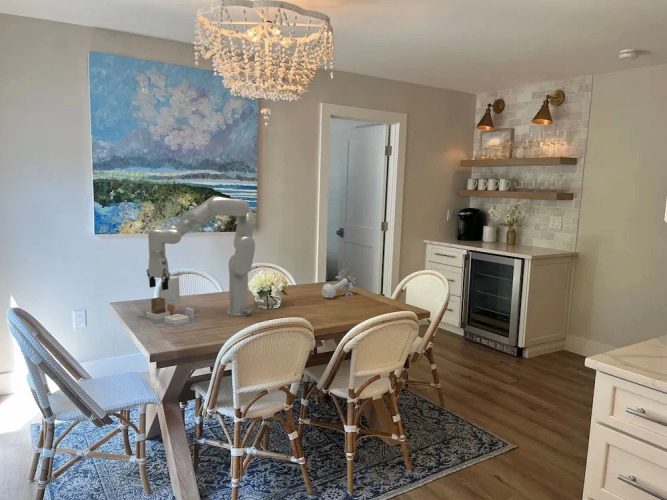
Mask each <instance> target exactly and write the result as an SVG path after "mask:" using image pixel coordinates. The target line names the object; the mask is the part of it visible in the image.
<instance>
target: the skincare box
mask: <svg viewBox="0 0 667 500" xmlns="http://www.w3.org/2000/svg"><path fill="white" fill-rule="evenodd" d="M164 279H165V278H164ZM160 280H161V281H160V283H161V284H162V282H163V281H162V279H161V278H160ZM180 293H181V292H180V277H179V275H170V279H169V281H168V289H167V290H162V289H161V298H164V299H165V305H167V304H168V303H171V304H175V305H178V304H179V303H180V302H181V298H180V297H181V296H180Z"/></svg>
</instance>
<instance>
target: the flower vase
mask: <svg viewBox="0 0 667 500" xmlns="http://www.w3.org/2000/svg"><path fill="white" fill-rule="evenodd" d="M351 270H352V269H349V268H348V267H345V268H344V269H339V272H338V275H336V276H335V277H334V278H335V279H336V280H337V281H336V282H337V283H335V284H331V283H325V284H324V285H323V286H322V289H321V295H322V297H324V298H326V299H327V298H328V299H333V298H334V297H335V296H336V292H337V290H338V289H339V290H343V289H344V292H342V293H341V295H345V296H349V295H351V296H354V294H353V292H350V291H349V290H350V289H353V285H355V284H356V281H355V280H356V279H357V278H356V276H354V275H355V274H354V271H352V272H351V273H350V272H349V271H351ZM348 272H349V273H350V274H349V273H348Z"/></svg>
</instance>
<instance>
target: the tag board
mask: <svg viewBox="0 0 667 500" xmlns="http://www.w3.org/2000/svg"><path fill="white" fill-rule="evenodd" d="M138 318H140V319H143V320H147V321H150V322H152V323H153V322H154V323H156V324H161V325H165V326H168V327H171V328H174V329H177V328H180V327H185V326H187V325H192V324H195V323H199V322H202V321H203V320H202V319H199V318H194V319H192V320H191V319H189V317H188V316H186V314H185V315H184V314H179V313H176V312H175V314H174V315H172V314H170V312H169V311H167V310H165V313H161V314H153V313H152V310H149V311H146V313H145V315H144V314H143V315H139V316H138Z"/></svg>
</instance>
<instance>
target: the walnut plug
mask: <svg viewBox="0 0 667 500" xmlns="http://www.w3.org/2000/svg"><path fill="white" fill-rule="evenodd" d="M150 300H151V303H150V304H151V311H152V313H153V314H161V313H165V311H166V304H165V299H164V298H162V297H159V296H158V297H153V298H151V299H150Z"/></svg>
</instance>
